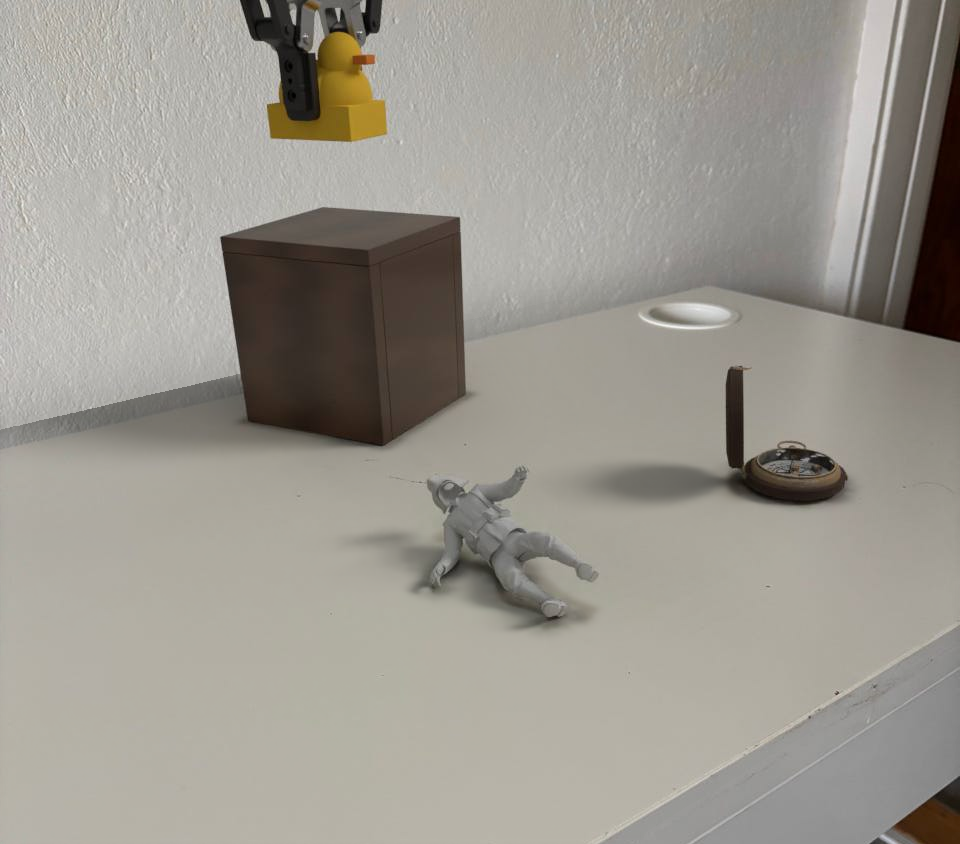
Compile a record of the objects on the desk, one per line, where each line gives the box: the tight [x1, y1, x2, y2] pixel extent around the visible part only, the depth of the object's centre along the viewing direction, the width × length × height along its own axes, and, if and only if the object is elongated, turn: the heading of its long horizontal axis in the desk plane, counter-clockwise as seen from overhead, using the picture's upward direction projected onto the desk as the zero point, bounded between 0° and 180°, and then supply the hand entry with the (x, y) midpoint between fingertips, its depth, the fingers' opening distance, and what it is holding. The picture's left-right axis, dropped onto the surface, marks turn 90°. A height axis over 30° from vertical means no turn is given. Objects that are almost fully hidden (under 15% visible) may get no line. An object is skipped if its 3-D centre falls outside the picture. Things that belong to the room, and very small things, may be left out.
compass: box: [725, 365, 849, 502], centre depth 63 cm, size 8×8×7 cm
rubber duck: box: [266, 32, 388, 143], centre depth 66 cm, size 7×4×6 cm, turn 62°
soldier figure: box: [426, 465, 600, 618], centre depth 54 cm, size 8×5×12 cm
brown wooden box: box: [219, 206, 467, 446], centre depth 75 cm, size 12×12×13 cm
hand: (326, 114), depth 67 cm, fingers closed on rubber duck, 4 cm apart
